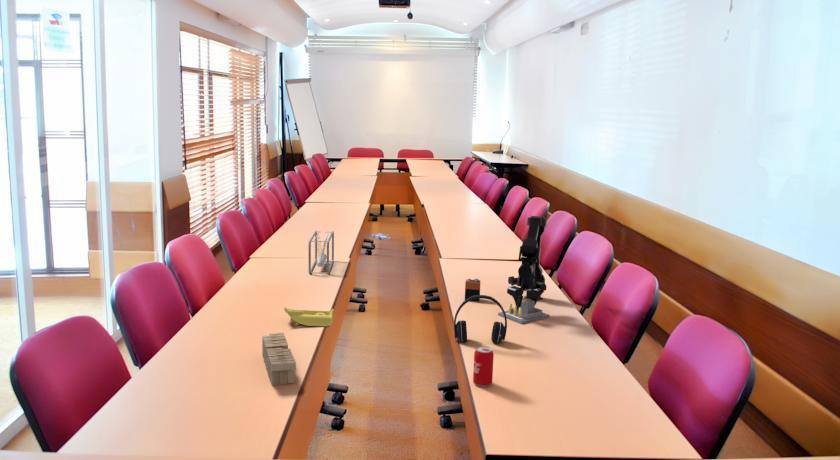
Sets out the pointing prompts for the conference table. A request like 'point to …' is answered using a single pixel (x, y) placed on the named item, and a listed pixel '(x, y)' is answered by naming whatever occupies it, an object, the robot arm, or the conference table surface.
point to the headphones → (498, 327)
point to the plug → (527, 306)
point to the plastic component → (311, 317)
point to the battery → (472, 288)
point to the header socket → (521, 318)
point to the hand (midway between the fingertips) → (525, 307)
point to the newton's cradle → (322, 255)
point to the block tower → (278, 359)
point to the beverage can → (483, 366)
